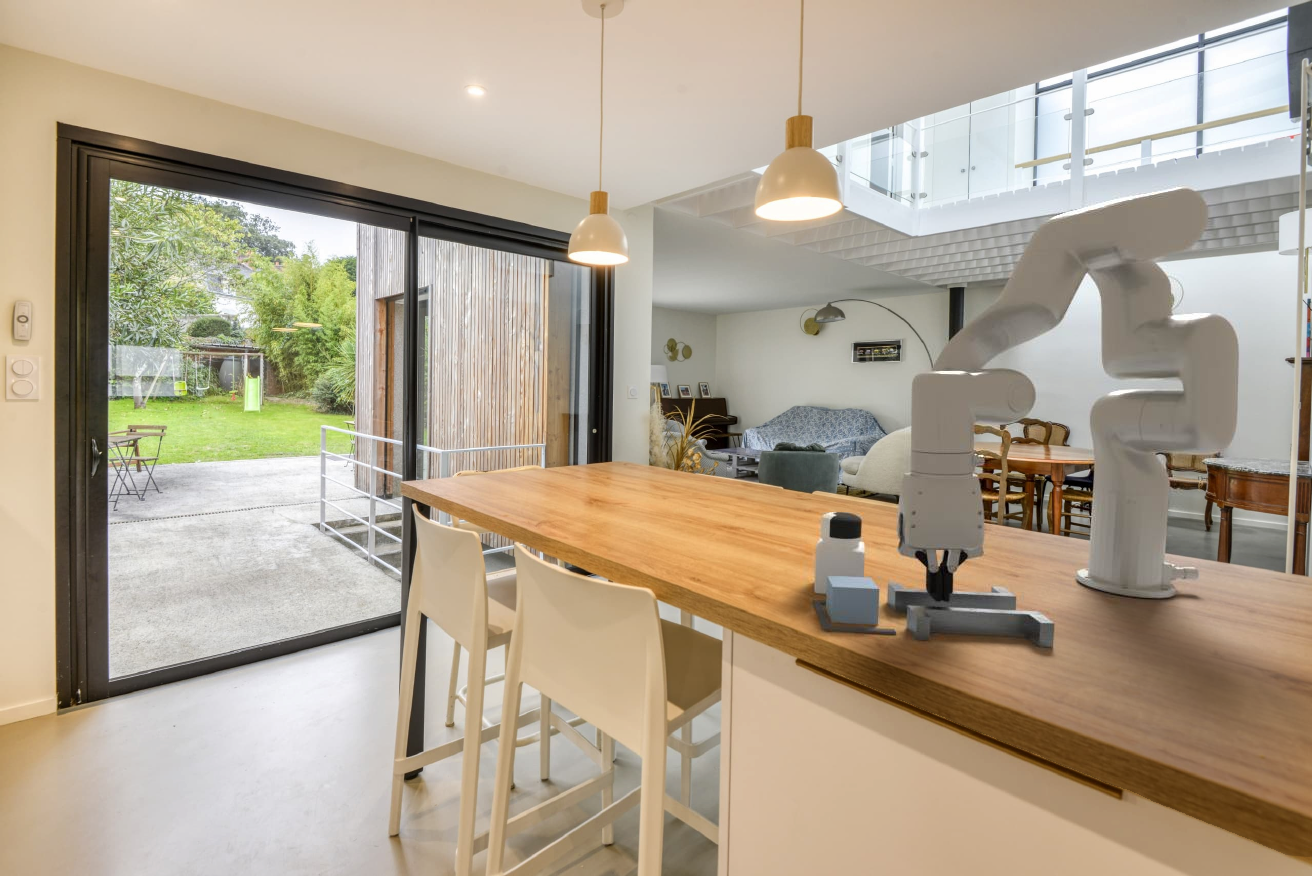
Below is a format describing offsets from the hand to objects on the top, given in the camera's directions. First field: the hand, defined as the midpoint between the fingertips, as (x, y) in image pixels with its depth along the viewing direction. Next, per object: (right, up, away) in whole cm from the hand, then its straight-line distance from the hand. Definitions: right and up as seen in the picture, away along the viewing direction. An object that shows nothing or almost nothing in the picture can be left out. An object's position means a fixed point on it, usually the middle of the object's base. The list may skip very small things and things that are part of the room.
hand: (939, 597), depth 81 cm
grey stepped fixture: (+3, -3, -1) cm, 4 cm away
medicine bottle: (-10, -2, +13) cm, 16 cm away
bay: (-11, -3, +1) cm, 12 cm away
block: (-11, -3, +1) cm, 12 cm away
